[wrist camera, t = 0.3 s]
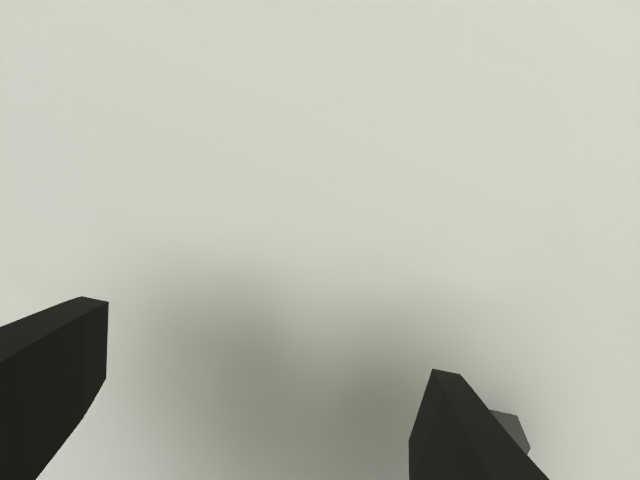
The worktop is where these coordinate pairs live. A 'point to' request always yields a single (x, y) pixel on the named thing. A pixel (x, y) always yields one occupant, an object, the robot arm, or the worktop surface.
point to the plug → (513, 429)
